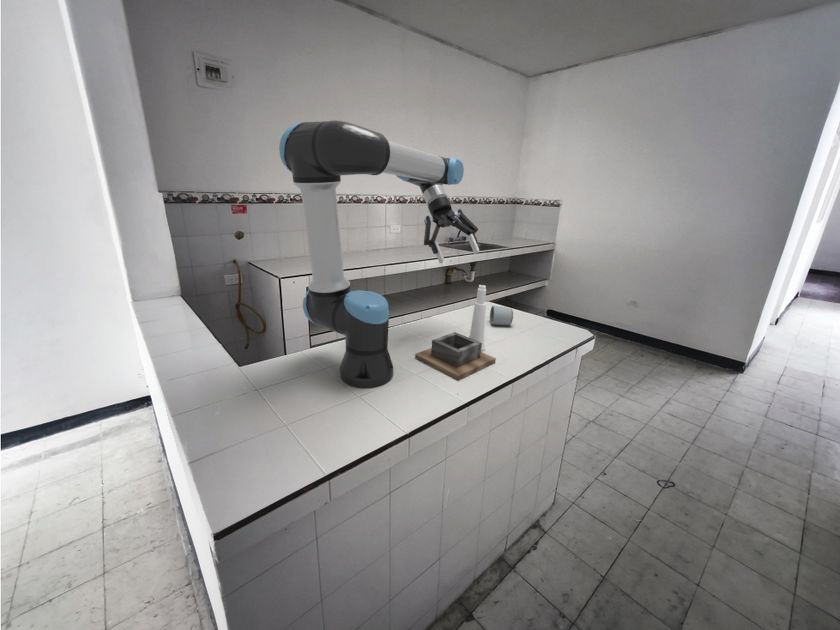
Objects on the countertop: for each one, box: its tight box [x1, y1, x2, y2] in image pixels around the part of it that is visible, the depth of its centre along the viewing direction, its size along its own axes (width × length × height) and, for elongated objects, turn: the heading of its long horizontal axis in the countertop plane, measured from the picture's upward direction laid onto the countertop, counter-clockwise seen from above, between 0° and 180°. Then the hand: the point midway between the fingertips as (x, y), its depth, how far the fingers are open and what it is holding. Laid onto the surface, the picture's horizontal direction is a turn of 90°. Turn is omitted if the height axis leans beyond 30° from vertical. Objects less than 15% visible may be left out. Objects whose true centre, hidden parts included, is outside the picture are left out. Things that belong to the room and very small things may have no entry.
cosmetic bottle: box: [468, 284, 487, 352], centre depth 123 cm, size 6×6×22 cm
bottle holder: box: [414, 332, 497, 381], centre depth 115 cm, size 18×18×6 cm
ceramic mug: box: [489, 305, 514, 326], centre depth 150 cm, size 11×8×8 cm
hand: (459, 257), depth 124 cm, fingers open, 13 cm apart
